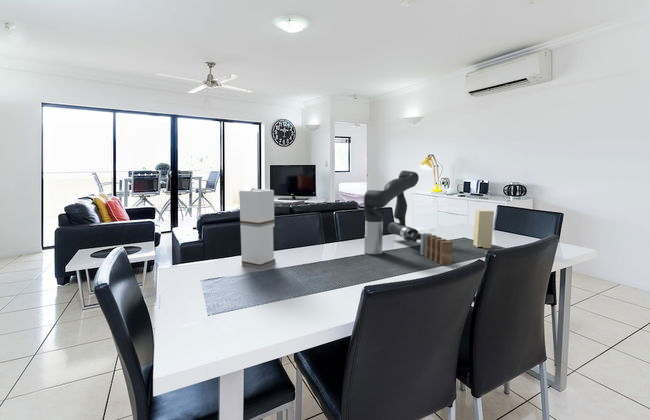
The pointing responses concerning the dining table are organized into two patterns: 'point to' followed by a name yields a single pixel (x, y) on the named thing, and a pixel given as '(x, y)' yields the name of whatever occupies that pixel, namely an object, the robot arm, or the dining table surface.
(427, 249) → the walnut domino
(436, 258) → the walnut domino
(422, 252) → the slate domino
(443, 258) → the walnut domino
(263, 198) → the white banded tower
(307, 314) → the dining table surface
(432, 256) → the walnut domino
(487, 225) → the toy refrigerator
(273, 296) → the dining table surface
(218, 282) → the dining table surface
